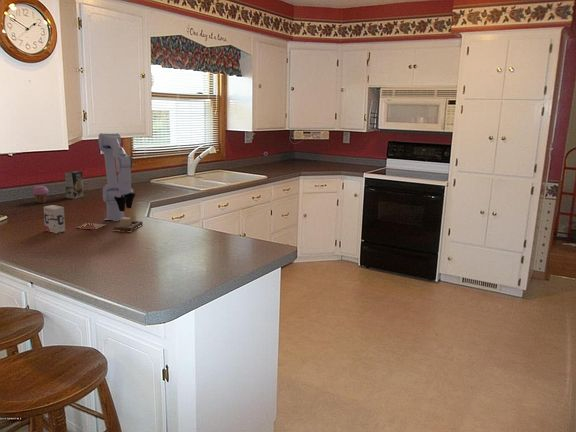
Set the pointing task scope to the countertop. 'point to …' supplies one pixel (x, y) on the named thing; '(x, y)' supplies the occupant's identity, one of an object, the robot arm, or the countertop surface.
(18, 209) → the countertop surface
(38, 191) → the cupcake
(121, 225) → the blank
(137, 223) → the shelf bay
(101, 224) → the plate
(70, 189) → the coffee box
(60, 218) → the ink box
